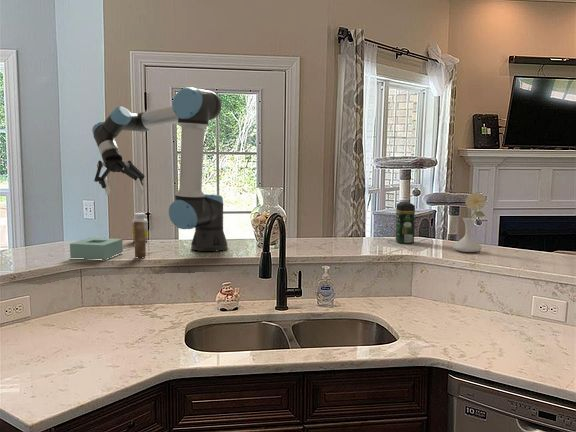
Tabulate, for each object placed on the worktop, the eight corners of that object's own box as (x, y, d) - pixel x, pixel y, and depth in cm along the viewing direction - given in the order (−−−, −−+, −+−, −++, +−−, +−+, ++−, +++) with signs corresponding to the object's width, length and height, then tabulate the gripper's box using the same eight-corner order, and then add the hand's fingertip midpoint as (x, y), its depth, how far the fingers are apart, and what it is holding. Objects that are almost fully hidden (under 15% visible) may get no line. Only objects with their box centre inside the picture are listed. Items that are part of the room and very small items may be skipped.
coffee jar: (393, 240, 252) (395, 200, 250) (410, 240, 252) (412, 200, 250) (397, 244, 242) (399, 202, 240) (415, 244, 242) (417, 203, 240)
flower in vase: (447, 251, 227) (450, 191, 224) (462, 248, 234) (465, 190, 231) (475, 255, 217) (479, 193, 214) (490, 252, 224) (494, 192, 221)
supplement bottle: (129, 242, 243) (128, 213, 241) (140, 240, 249) (139, 212, 247) (140, 243, 240) (140, 214, 238) (151, 241, 246) (150, 213, 244)
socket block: (122, 253, 216) (122, 239, 215) (104, 261, 202) (104, 245, 202) (90, 252, 219) (90, 237, 218) (70, 259, 205) (69, 243, 204)
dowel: (147, 256, 211) (146, 221, 209) (142, 258, 207) (141, 222, 205) (137, 256, 212) (136, 220, 210) (133, 258, 208) (132, 222, 206)
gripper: (136, 160, 235) (152, 197, 225) (77, 160, 219) (92, 200, 209) (141, 147, 230) (157, 185, 220) (82, 147, 214) (96, 187, 205)
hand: (125, 193), depth 215 cm, fingers open, 13 cm apart
